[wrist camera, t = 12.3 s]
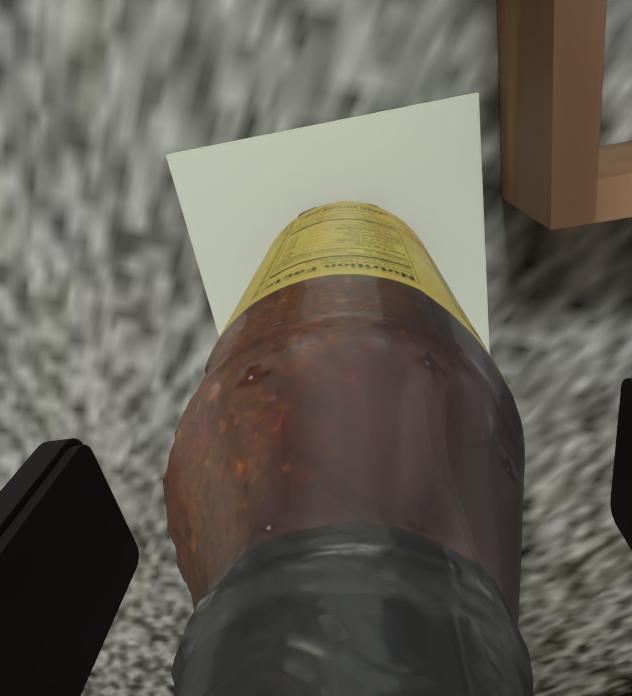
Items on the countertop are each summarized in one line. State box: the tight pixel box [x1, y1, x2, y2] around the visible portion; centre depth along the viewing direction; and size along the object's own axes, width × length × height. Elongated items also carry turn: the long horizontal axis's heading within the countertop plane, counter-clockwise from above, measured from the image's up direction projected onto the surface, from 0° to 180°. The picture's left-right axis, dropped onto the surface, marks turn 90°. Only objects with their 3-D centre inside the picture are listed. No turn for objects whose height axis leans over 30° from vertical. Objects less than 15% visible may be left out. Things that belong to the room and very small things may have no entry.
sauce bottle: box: [163, 201, 533, 696], centre depth 11 cm, size 6×6×20 cm
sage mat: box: [166, 93, 490, 354], centre depth 20 cm, size 11×11×1 cm
